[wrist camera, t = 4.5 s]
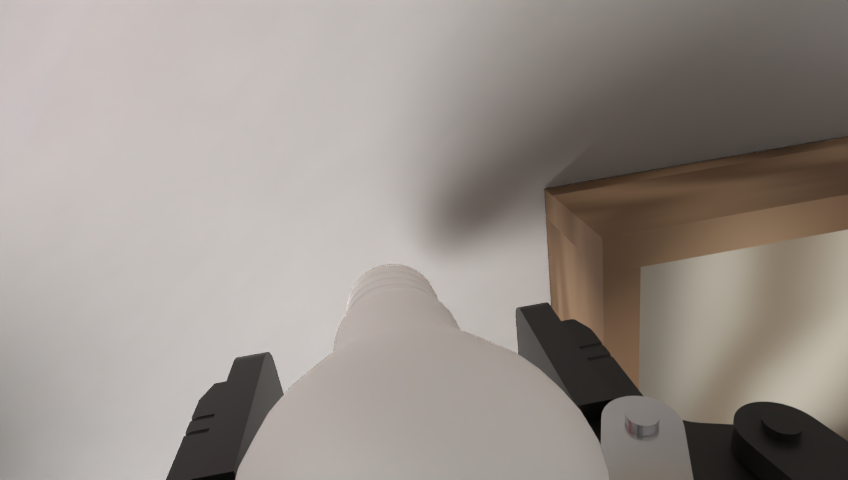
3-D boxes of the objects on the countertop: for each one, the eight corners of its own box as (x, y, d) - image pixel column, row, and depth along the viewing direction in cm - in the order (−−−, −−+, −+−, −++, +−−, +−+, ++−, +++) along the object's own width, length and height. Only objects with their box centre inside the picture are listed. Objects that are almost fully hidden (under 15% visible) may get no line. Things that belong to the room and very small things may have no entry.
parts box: (562, 498, 22) (607, 604, 18) (544, 188, 17) (602, 237, 13) (870, 436, 23) (981, 525, 19) (944, 119, 18) (1122, 145, 14)
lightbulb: (418, 150, 14) (588, 457, 4) (523, 307, 17) (796, 745, 6) (240, 272, 15) (10, 795, 5) (366, 406, 17) (391, 947, 7)
